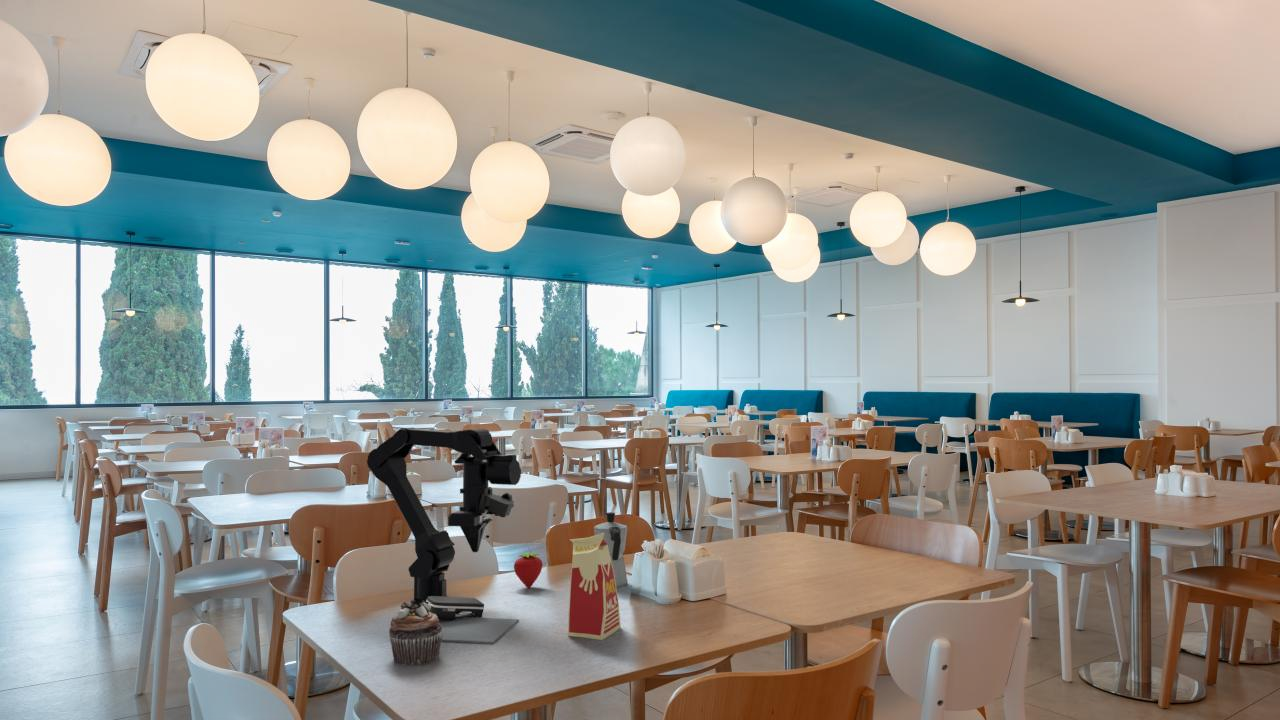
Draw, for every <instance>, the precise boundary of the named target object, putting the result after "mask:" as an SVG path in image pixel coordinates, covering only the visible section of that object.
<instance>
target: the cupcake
mask: <svg viewBox="0 0 1280 720" xmlns="http://www.w3.org/2000/svg"><path fill="white" fill-rule="evenodd" d="M428 603H429V602H425V601H424V600H423V601H422V602H420V603H407V602H404V601H403V603H401V606H400V610H399V611H398V613H396V614H395V615H394V616H393V617H392V619H391V620H390V627H389V630H388V631H389V632H388V634H389V636H388V637H389V640H390V645H391V651H392V657H393V661H394V663H396V664H398V665H402V666H419V665H422V666H423V665H425V664H426V665H427V664H430V663H432V662H435V661H436V660H438V658H439V656H440V650H441V646H442V636H443V631H444V630H443V628H442V627H441V625H440V624H439V619H438V617H437V615H436V614H433V613H431V612H429V611H430V609H431V605H429V604H428Z"/></svg>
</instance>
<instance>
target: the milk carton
mask: <svg viewBox="0 0 1280 720" xmlns="http://www.w3.org/2000/svg"><path fill="white" fill-rule="evenodd" d="M603 536H604V533H602V534H598V535H595V534H594V535H591V536H589V537H583V538H582V537H581V538H572V539H571V538H570V539H569V541H570V542H571V543H572V560H571V561H572V562H571V572H570V584H569V585H570V586H569V601H568V603H569V605H568V606H569V607H568V622H567V623H568V624H567V625H568V627H567V628H568V629H567V637H576V638H585V639H592V640H599V641H603V640H604V639H606V638H608V637H609V636H611V635H612V634H614V633H615V632H617V631H618V630H620V629H621V628H622V627H621V616H620V614H621V613H620V604H619V603H620V602H619V597H618V590H617V587H616V582H615V576H614V571H613V566H612V562H611V557H610V553H609V549H608V544H607V543H606V542H605V541H604V540H603Z"/></svg>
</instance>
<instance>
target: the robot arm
mask: <svg viewBox="0 0 1280 720" xmlns="http://www.w3.org/2000/svg"><path fill="white" fill-rule="evenodd" d="M414 446H425V447H434V448H435V447H436V448H446V449H450V450H453V451H455V452H457V453H461V454H460V455H459V457H457V458H456V459H455V460H454V464H455V465H460V464H461V465H462V466H463V467H462V469H463V470H462V488H459V494H462V506H459V510H457V511H454V512H451V513H450V514H449V515H448V517H447V526H448V527H460V529H461V531H462V533H463V535H464V537H465V540H466V541H467V543H468V545H469V548H470V549H471V551H472V553H478V552H479V550H480V546H481V542H482V539H483V535H484V533H485V529H486V527H487V526H488V525H489V524H490V523H492V521H493V519H492V518H491V519H490V518H488V516H486V515H494V517H500V518H506V517H507V516H510V514H511V510H512V509H513V508H514V507H515V504H514V501H513V495H512V494H510V493H508V492H505V493H503V494H501V496H500V495H499V494H494V493H493V488H492V487H491V486H489V483H490V484H491V485H504V486H505V485H507V486H513V485H514V486H516V485H517V484H518V483H519V482H520V479H521V476H522V468H521V465H520V462H519V461H518V460H517V454H506V455H505V454H502V453H501V452H500V449H499V448H498V447H497V445H496V443H495V442H494V441H493V437H492V434H491V433H490V431H489V430H488V429H486V428H472V429H463V430H455V431H452V430H451V431H450V430H438V429H436V430H435V429H424V428H415V427H401V428H400V429H398V430H397V431H396V432H395V433H394V434H393V435H392V436H391V437H390V438H387V440H385V441H384V442H382V443H380V445H378V447H377V448H374V449H372V450H371V451H370V452H369V454H368V456H367V459H366V465H367V467H368V469H369V470H370V472H371V473H372V474H373V476H374V477H375V478H376V479H378V481H380V482H382V484H384V485H385V486H386V487H387V489H388V491H389V492H390V494H391V495H392V498H393V499H394V501H395V503H396V505H397V507H398V509H399V511H400V513H401V514H402V517H403V518H404V521H405V522H406V523H407V525H408V527H409V529H410V531H411V533H412V535H413V537H414V546H415V547H414V552H415V554H416V559H415V560H414V562H412V564H411V565H410V566H409V567H408V572H409V576H410V578H411V577H412V578H413V598H412V600H410V604H419V603H420V602H422V601H423V600H424V601H425V602H426V600H427V598H428V597H429V596H445V597H448V594H447V579H446V578H445V572H448V571H449V567H450V565H451V563H452V562H453V560H455V559H454V558H455V555H456V550H455V547H454V546H455V545H456V544H455V542H454V541H452V539H451V537H450V534H449V532H448V531H447V530H445V529H444V530H442V531H439V530H438V529H436V527H434V525H433V522H431V519H430V516H428V513H427V512H426V510H425V508H424V506H423V504H422V503H421V501H420V499H419V497H418V496H417V493H416V492H415V489H414V488H413V485H411V482H410V481H409V479H408V476H407V462H406V459H407V457H408V456H409V455H410V453H411V451H412V450H413V447H414ZM470 455H471V456H470Z"/></svg>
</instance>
